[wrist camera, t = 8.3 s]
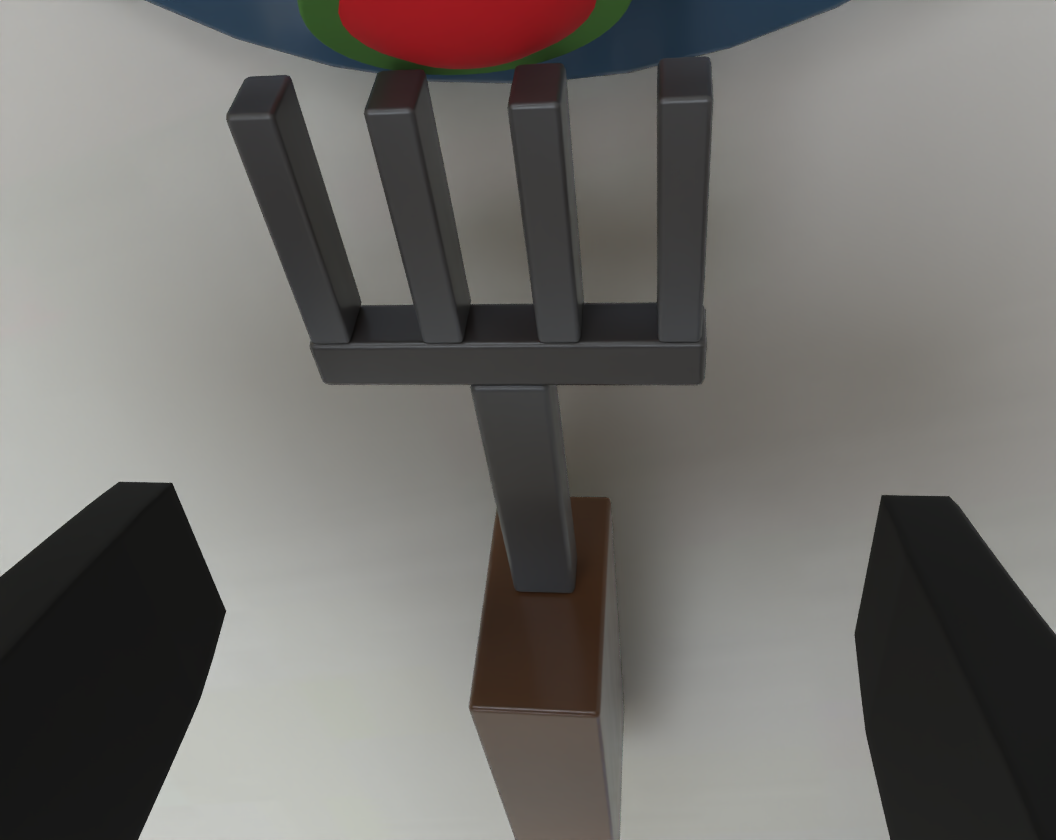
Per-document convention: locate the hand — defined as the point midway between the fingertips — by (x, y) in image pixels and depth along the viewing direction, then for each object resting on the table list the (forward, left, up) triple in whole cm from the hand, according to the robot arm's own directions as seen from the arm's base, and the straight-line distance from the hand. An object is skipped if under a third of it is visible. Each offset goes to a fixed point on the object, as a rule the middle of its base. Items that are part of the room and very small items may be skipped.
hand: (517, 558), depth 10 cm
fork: (-2, +1, -3) cm, 4 cm away
